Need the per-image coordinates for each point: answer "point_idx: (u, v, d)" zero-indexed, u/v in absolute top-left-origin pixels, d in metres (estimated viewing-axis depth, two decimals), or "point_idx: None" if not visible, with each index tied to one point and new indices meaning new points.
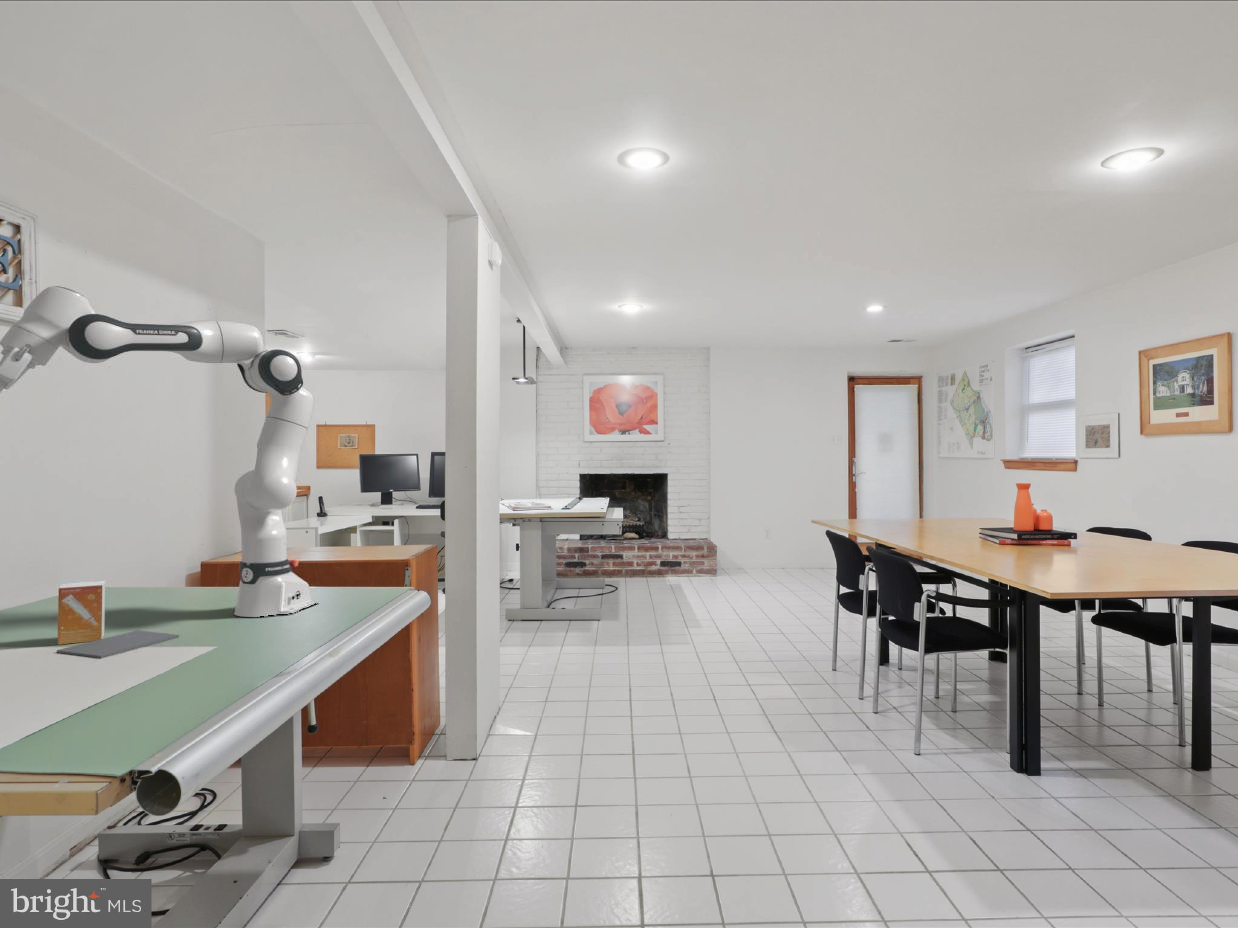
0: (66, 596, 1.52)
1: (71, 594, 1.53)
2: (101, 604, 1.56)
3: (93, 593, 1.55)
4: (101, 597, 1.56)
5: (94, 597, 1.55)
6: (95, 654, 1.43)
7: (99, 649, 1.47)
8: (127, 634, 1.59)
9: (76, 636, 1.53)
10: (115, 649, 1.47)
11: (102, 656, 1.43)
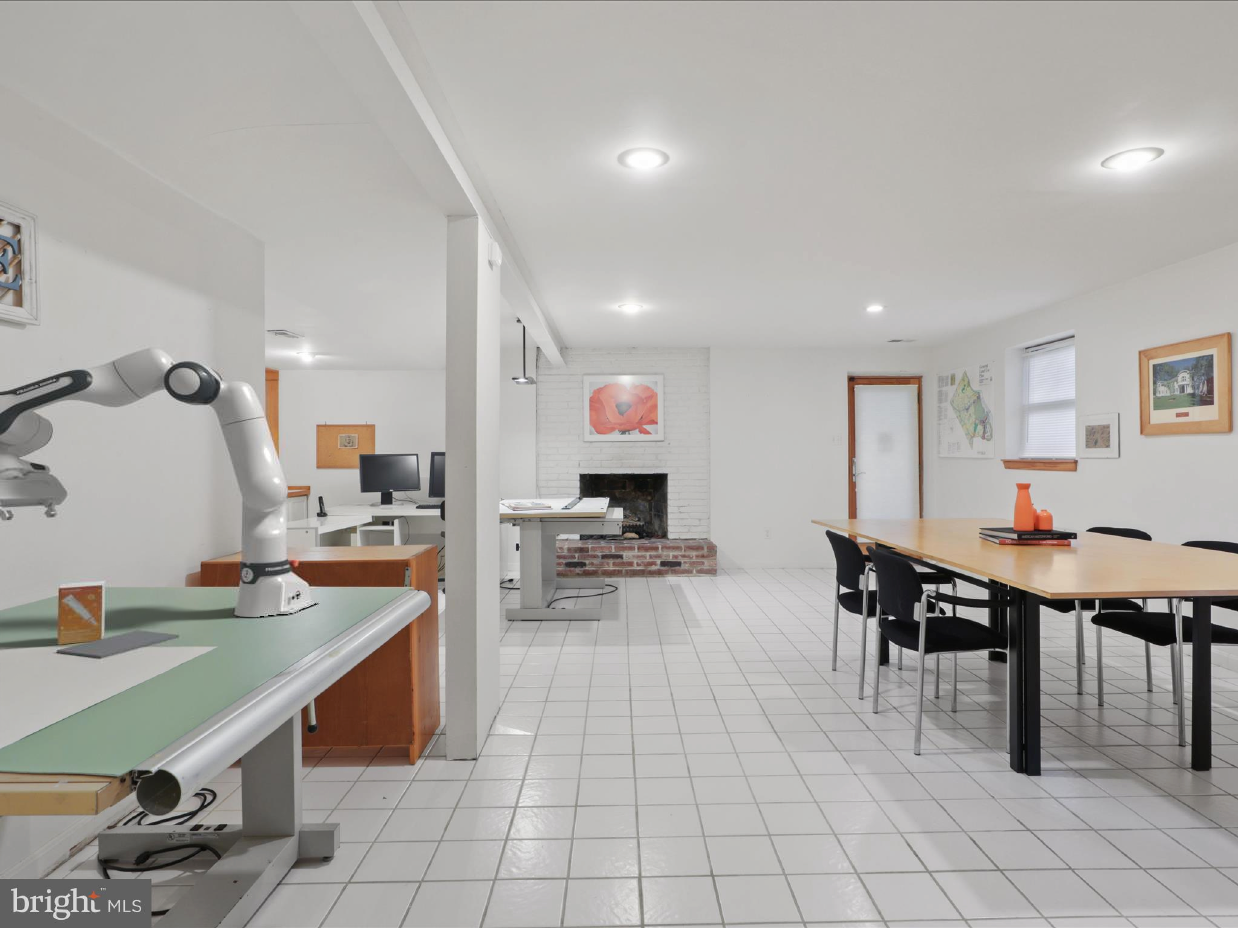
0: (66, 596, 1.52)
1: (71, 594, 1.53)
2: (101, 604, 1.56)
3: (93, 593, 1.55)
4: (101, 597, 1.56)
5: (94, 597, 1.55)
6: (95, 654, 1.43)
7: (99, 649, 1.47)
8: (127, 634, 1.59)
9: (76, 636, 1.53)
10: (115, 649, 1.47)
11: (102, 656, 1.43)
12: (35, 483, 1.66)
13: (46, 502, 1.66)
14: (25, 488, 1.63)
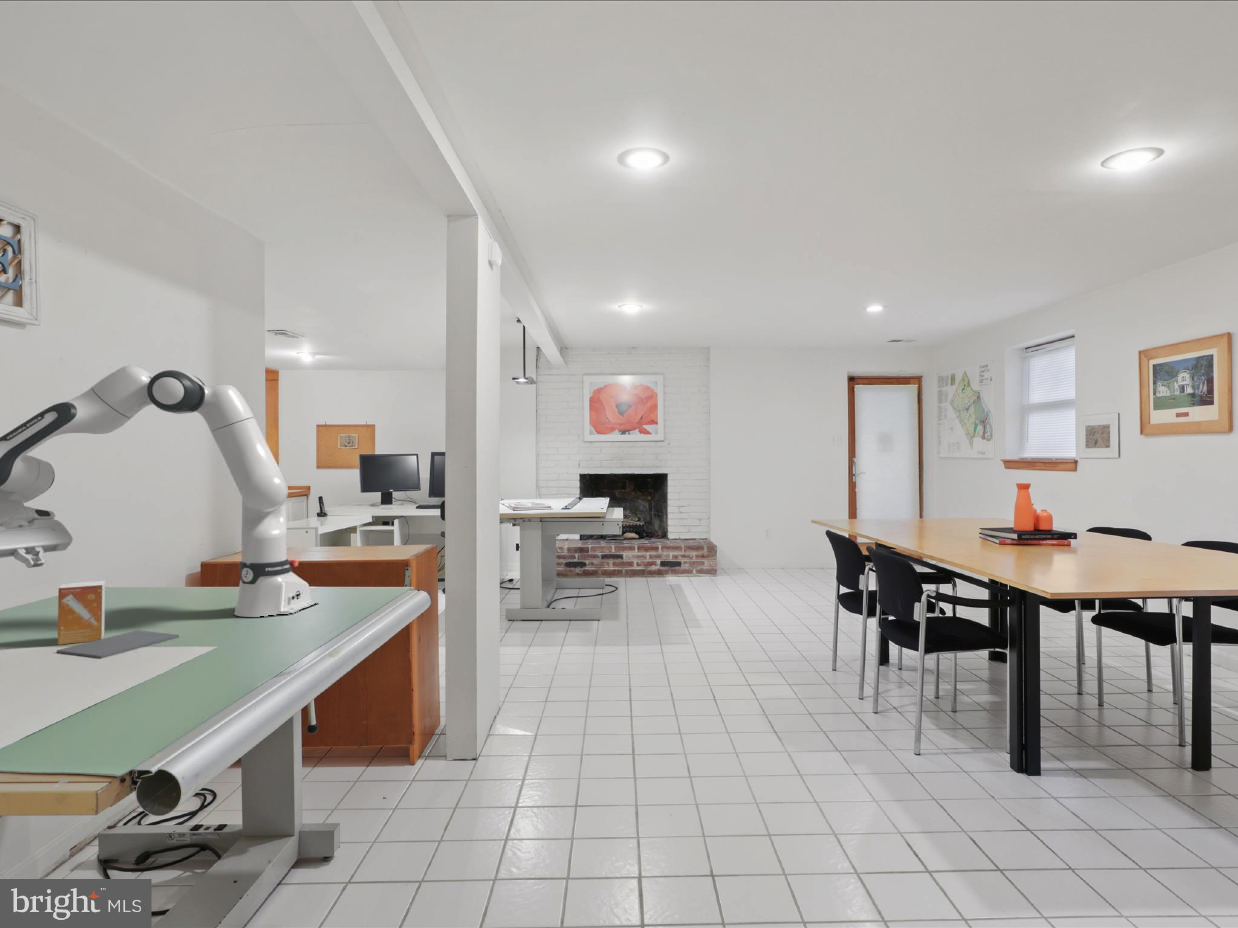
0: (66, 596, 1.52)
1: (71, 594, 1.53)
2: (101, 604, 1.56)
3: (93, 593, 1.55)
4: (101, 597, 1.56)
5: (94, 597, 1.55)
6: (95, 654, 1.43)
7: (99, 649, 1.47)
8: (127, 634, 1.59)
9: (76, 636, 1.53)
10: (115, 649, 1.47)
11: (102, 656, 1.43)
12: (40, 529, 1.66)
13: (33, 551, 1.62)
14: (30, 536, 1.63)
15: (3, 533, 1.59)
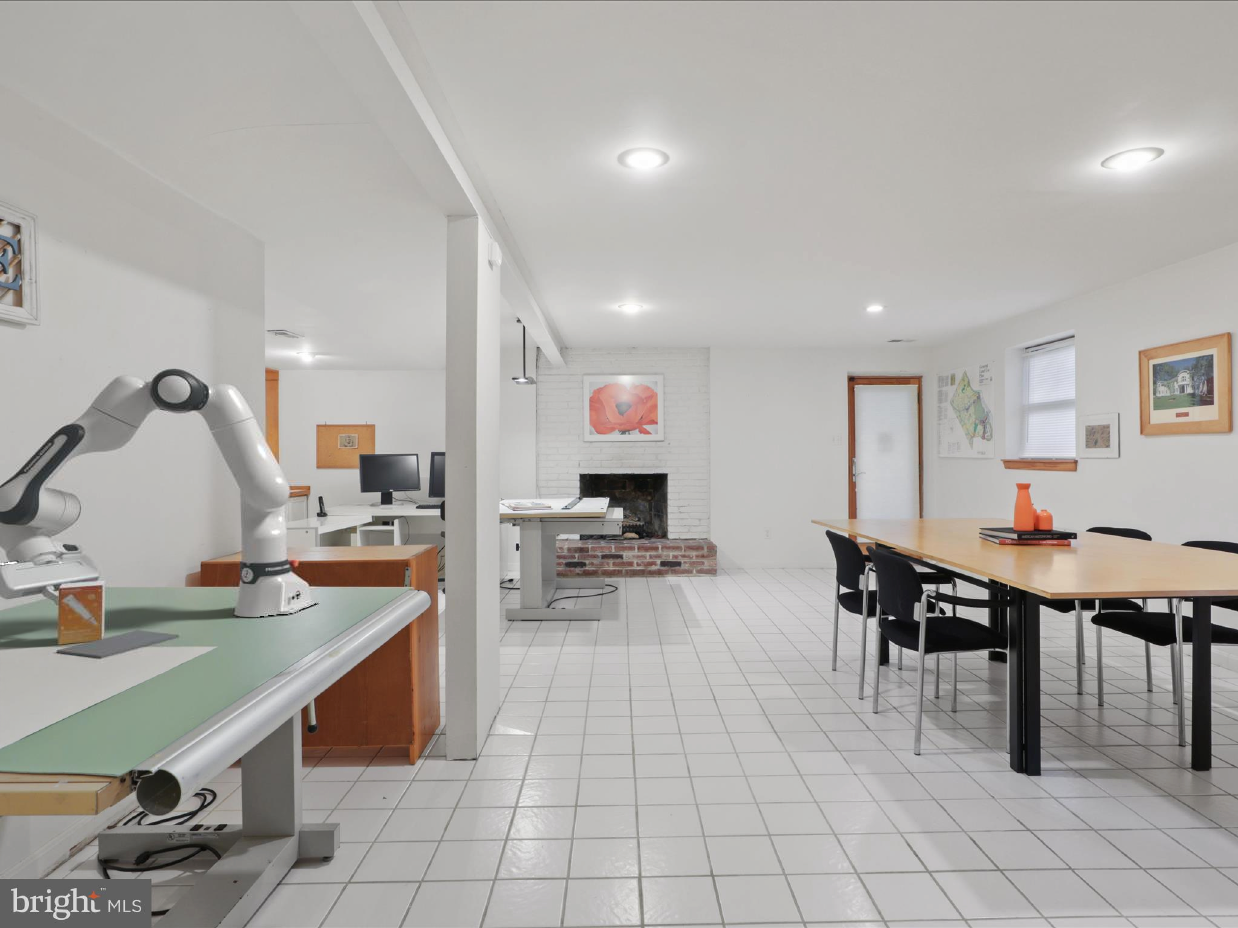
0: (66, 596, 1.52)
1: (71, 594, 1.52)
2: (101, 604, 1.56)
3: (93, 593, 1.55)
4: (101, 597, 1.56)
5: (94, 597, 1.55)
6: (95, 654, 1.43)
7: (99, 649, 1.47)
8: (127, 634, 1.59)
9: (77, 636, 1.53)
10: (115, 649, 1.47)
11: (102, 656, 1.43)
12: (68, 565, 1.63)
13: None
14: (59, 572, 1.60)
15: (32, 570, 1.56)
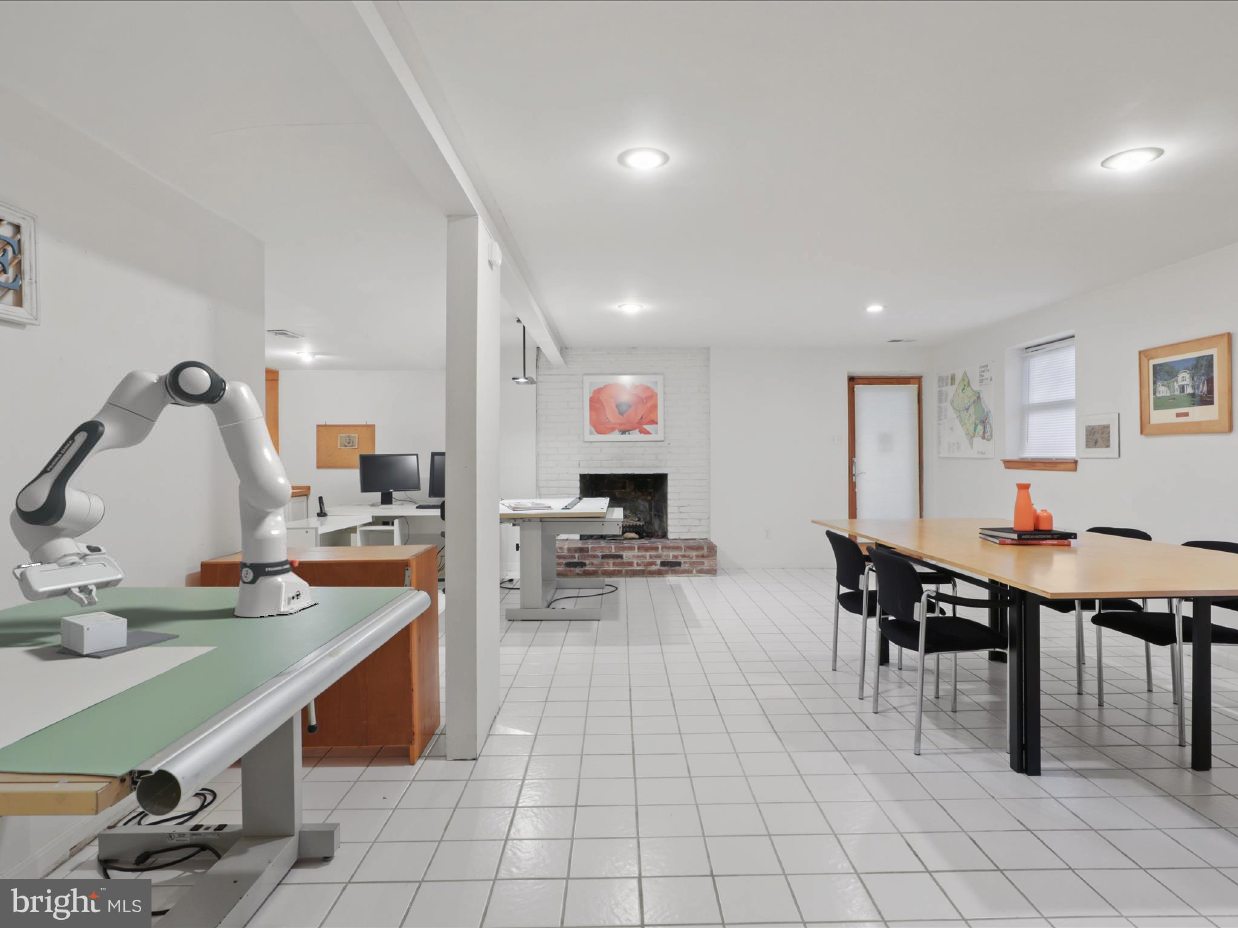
0: None
1: None
2: None
3: None
4: None
5: None
6: (95, 654, 1.43)
7: None
8: (127, 634, 1.59)
9: None
10: (115, 649, 1.47)
11: (102, 656, 1.43)
12: (92, 566, 1.61)
13: (86, 589, 1.57)
14: (83, 573, 1.58)
15: (56, 571, 1.54)
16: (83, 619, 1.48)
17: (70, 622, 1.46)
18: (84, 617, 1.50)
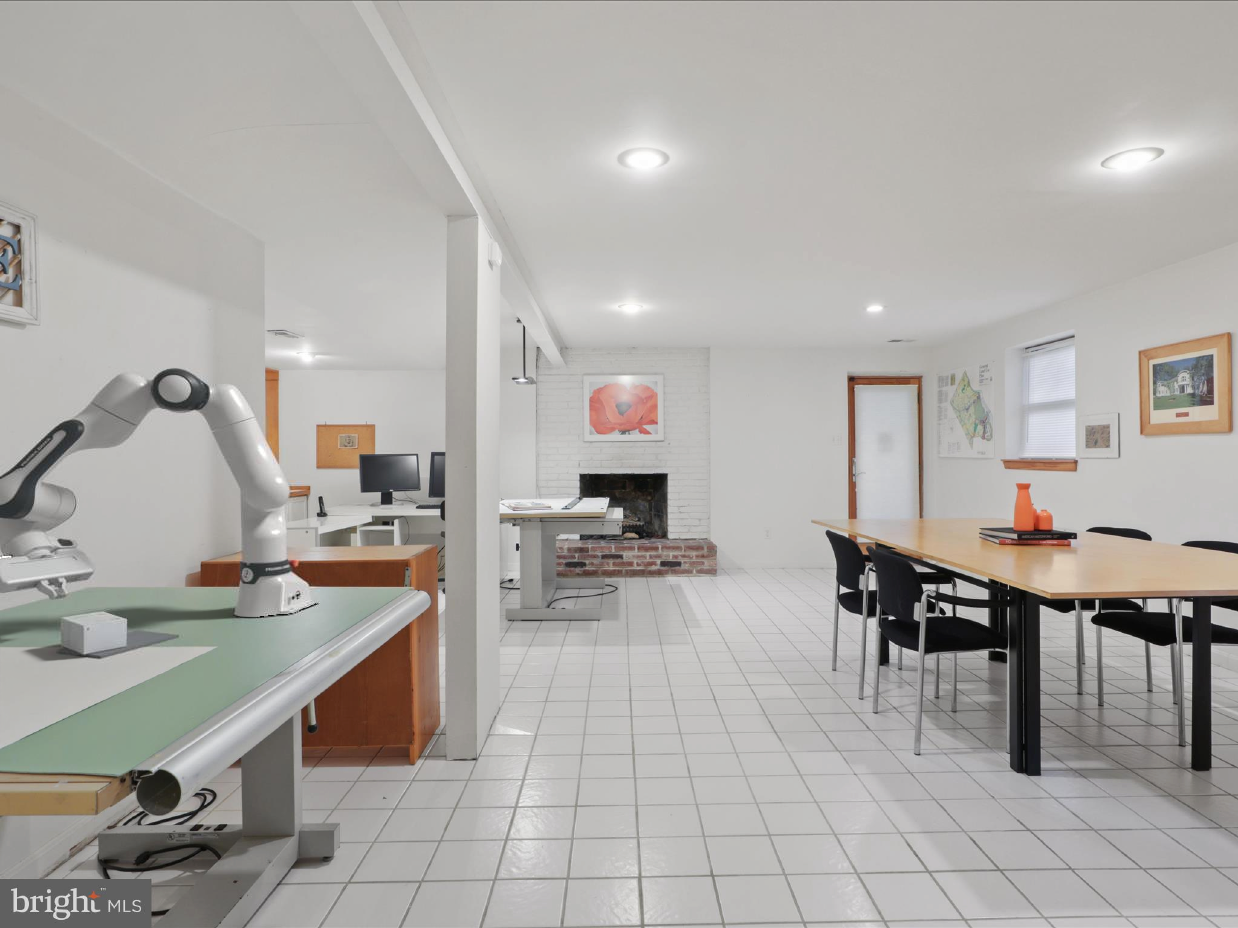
0: None
1: None
2: None
3: None
4: None
5: None
6: (95, 654, 1.43)
7: None
8: (127, 634, 1.59)
9: None
10: (115, 649, 1.47)
11: (102, 656, 1.43)
12: (62, 559, 1.63)
13: (56, 582, 1.59)
14: (53, 566, 1.60)
15: (26, 564, 1.56)
16: (83, 619, 1.48)
17: (70, 622, 1.46)
18: (84, 617, 1.50)
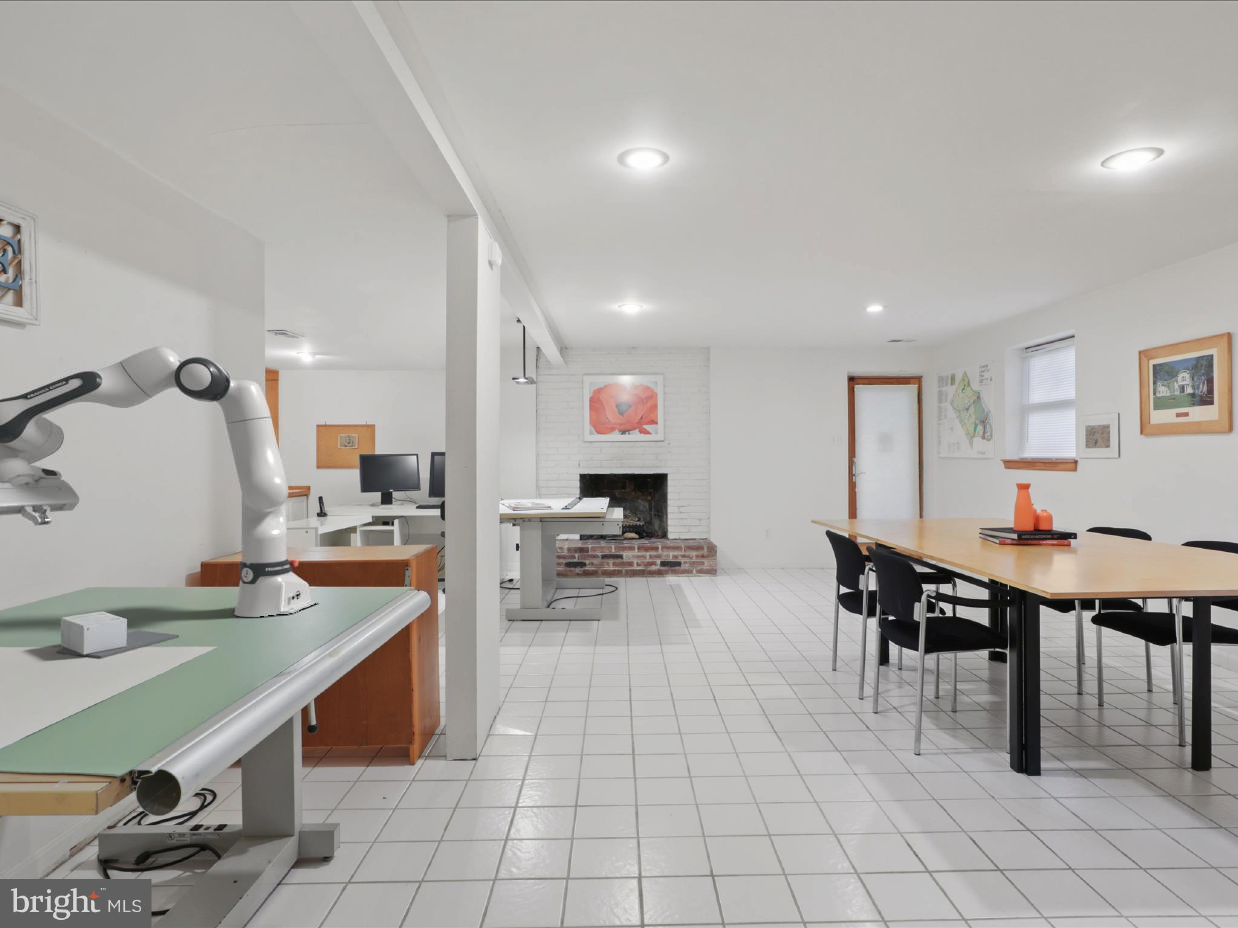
0: None
1: None
2: None
3: None
4: None
5: None
6: (95, 654, 1.43)
7: None
8: (127, 634, 1.59)
9: None
10: (115, 649, 1.47)
11: (102, 656, 1.43)
12: (47, 489, 1.65)
13: (40, 509, 1.61)
14: (37, 494, 1.62)
15: (10, 490, 1.58)
16: (83, 619, 1.48)
17: (70, 622, 1.46)
18: (84, 617, 1.50)
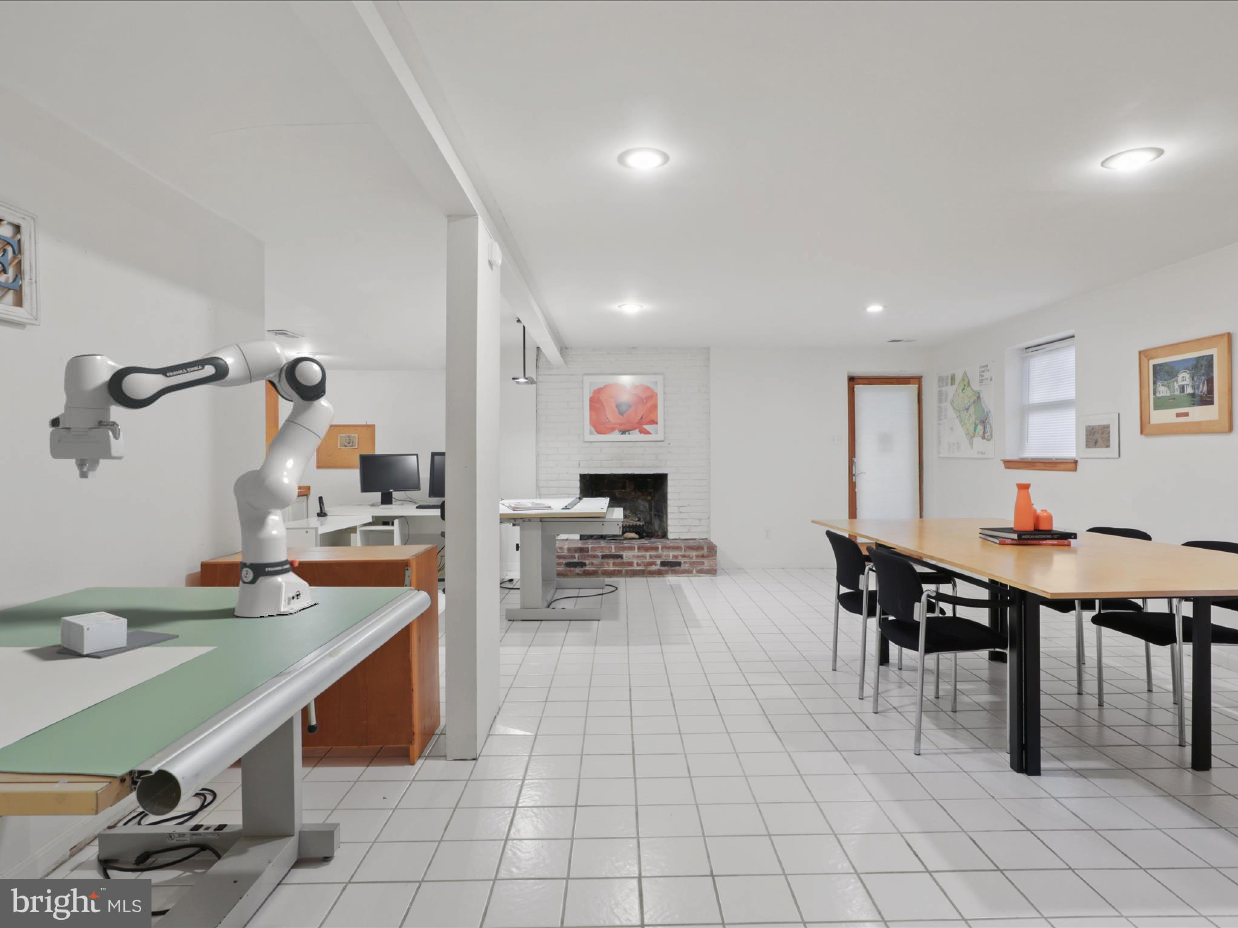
0: None
1: None
2: None
3: None
4: None
5: None
6: (95, 654, 1.43)
7: None
8: (127, 634, 1.59)
9: None
10: (115, 649, 1.47)
11: (102, 656, 1.43)
12: None
13: (84, 460, 1.64)
14: None
15: None
16: (83, 619, 1.48)
17: (70, 622, 1.46)
18: (84, 617, 1.50)
